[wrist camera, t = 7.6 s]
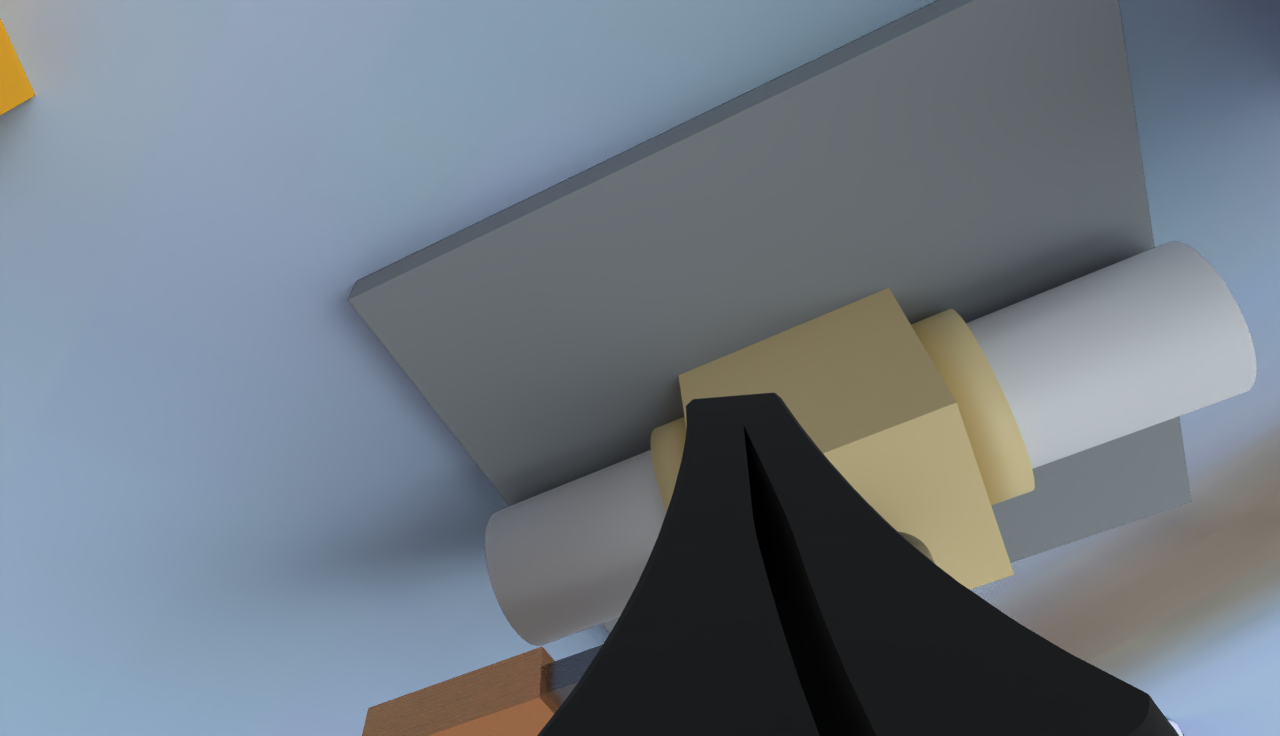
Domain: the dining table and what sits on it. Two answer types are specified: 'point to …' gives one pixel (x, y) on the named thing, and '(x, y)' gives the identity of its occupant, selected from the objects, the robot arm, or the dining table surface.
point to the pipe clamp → (11, 76)
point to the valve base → (835, 309)
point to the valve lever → (495, 696)
